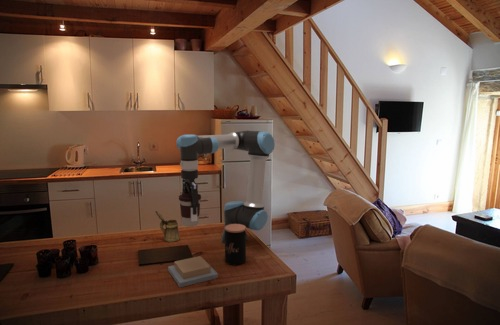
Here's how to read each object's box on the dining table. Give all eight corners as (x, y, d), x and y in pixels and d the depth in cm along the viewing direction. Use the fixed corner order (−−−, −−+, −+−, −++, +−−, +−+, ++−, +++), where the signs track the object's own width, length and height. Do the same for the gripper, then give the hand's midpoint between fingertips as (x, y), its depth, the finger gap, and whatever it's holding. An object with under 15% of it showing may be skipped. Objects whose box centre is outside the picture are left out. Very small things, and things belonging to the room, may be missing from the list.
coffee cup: (197, 228, 153) (196, 195, 151) (176, 227, 155) (175, 194, 153) (204, 221, 163) (204, 190, 160) (184, 219, 165) (183, 189, 162)
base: (203, 262, 175) (203, 253, 174) (217, 277, 159) (217, 267, 159) (168, 270, 166) (167, 260, 165) (179, 287, 151) (179, 276, 150)
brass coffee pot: (156, 237, 207) (155, 208, 204) (179, 236, 210) (179, 207, 207) (156, 243, 199) (154, 213, 196) (180, 241, 202) (179, 211, 199)
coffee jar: (220, 261, 177) (220, 227, 174) (235, 254, 184) (235, 222, 182) (235, 267, 170) (235, 232, 167) (250, 260, 177) (250, 227, 174)
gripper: (174, 166, 163) (175, 212, 166) (189, 174, 144) (190, 226, 148) (189, 165, 166) (190, 210, 170) (206, 172, 147) (207, 223, 151)
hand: (190, 217), depth 159 cm, fingers closed on coffee cup, 9 cm apart
